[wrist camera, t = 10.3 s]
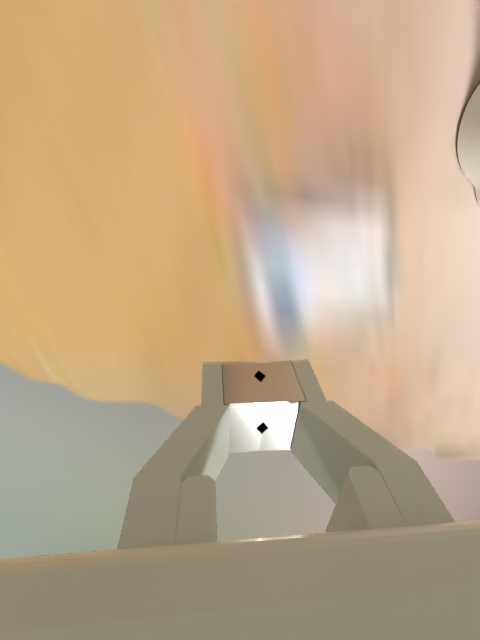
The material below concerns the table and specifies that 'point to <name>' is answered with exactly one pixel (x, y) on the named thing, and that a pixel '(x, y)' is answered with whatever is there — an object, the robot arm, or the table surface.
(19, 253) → the table surface
